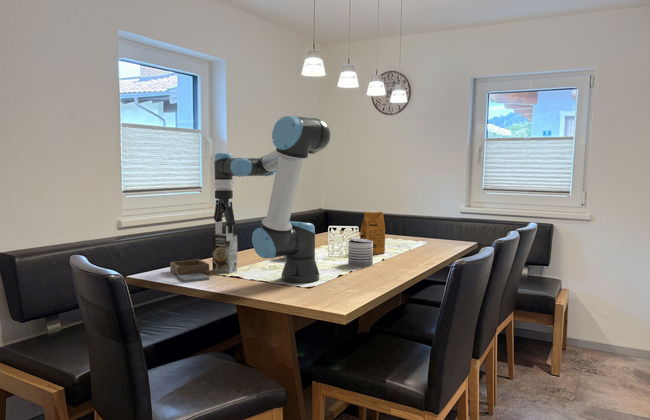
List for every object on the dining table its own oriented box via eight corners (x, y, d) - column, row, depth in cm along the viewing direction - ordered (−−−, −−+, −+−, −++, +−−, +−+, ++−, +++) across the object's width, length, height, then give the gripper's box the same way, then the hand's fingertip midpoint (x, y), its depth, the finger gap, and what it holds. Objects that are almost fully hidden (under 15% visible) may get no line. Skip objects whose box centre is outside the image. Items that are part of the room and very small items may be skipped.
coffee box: (211, 271, 209) (211, 234, 208) (220, 268, 215) (219, 232, 213) (229, 273, 205) (229, 235, 204) (238, 270, 211) (237, 233, 210)
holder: (209, 273, 205) (209, 264, 205) (178, 277, 198) (177, 267, 198) (200, 268, 216) (199, 259, 216) (170, 271, 209) (170, 262, 209)
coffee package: (357, 252, 259) (358, 211, 257) (379, 251, 262) (379, 210, 260) (364, 255, 249) (364, 212, 247) (386, 254, 253) (387, 212, 251)
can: (348, 262, 231) (348, 237, 230) (372, 262, 231) (372, 237, 230) (348, 266, 220) (348, 240, 219) (373, 267, 219) (373, 240, 218)
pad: (209, 279, 194) (209, 277, 194) (184, 282, 189) (183, 280, 189) (201, 274, 202) (201, 272, 202) (177, 277, 197) (177, 275, 197)
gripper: (242, 190, 199) (243, 242, 201) (222, 187, 220) (222, 234, 222) (225, 191, 195) (225, 243, 197) (206, 188, 216) (206, 235, 218)
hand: (224, 238), depth 209 cm, fingers open, 13 cm apart
